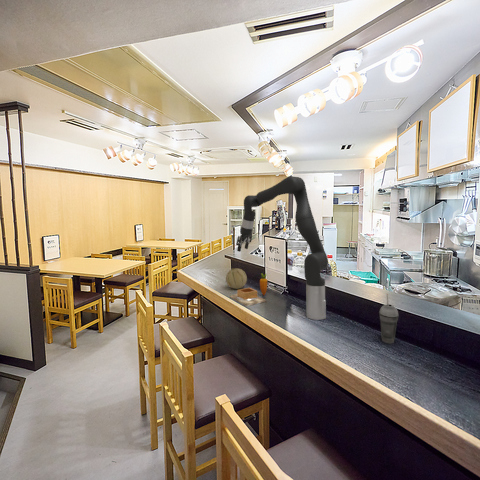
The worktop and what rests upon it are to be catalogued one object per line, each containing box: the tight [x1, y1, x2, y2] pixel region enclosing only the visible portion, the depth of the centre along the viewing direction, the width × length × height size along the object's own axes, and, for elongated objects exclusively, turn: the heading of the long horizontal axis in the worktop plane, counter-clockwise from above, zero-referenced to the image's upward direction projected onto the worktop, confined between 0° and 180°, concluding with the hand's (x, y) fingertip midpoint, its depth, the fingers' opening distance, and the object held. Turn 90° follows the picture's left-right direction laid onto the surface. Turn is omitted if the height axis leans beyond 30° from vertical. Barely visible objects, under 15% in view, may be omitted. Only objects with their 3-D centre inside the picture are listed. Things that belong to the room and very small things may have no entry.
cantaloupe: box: [225, 267, 248, 290], centre depth 199 cm, size 15×15×15 cm
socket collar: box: [236, 287, 258, 301], centre depth 175 cm, size 13×13×5 cm
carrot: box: [259, 273, 268, 296], centre depth 181 cm, size 5×5×15 cm
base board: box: [229, 293, 267, 307], centre depth 175 cm, size 14×20×1 cm
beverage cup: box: [378, 293, 399, 344], centre depth 116 cm, size 7×7×20 cm
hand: (242, 249), depth 182 cm, fingers open, 8 cm apart
